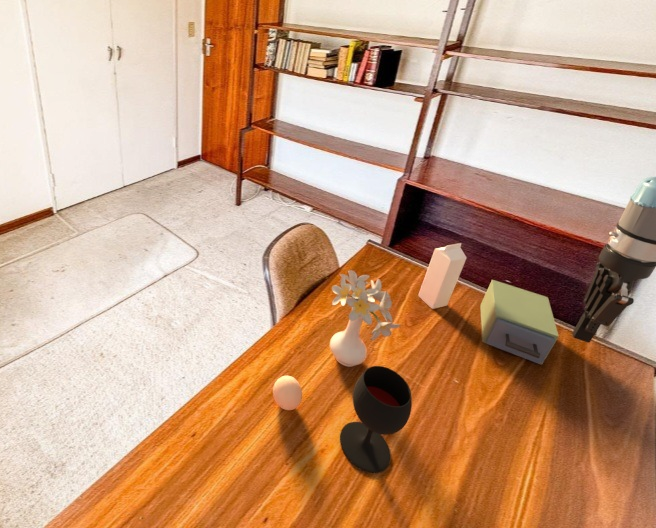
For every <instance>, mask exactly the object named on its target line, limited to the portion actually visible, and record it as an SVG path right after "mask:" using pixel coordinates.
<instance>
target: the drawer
mask: <svg viewBox="0 0 656 528" xmlns="http://www.w3.org/2000/svg"><path fill="white" fill-rule="evenodd" d="M554 343H555V344H556V342H555V338H553V337H550V336H549V335H546V334H543V333H540V332H537V331H533V330H530V329H527V328H524V327H522V326H519V325H516V324H513V323H510V322H508V321H505V320H502V319H501V318H497V319H496V321H495V323H494V325H493V327H492V329H491V331H490V333H489V335H488V337H487V340H486V343H485V344H486V345H488V346H491V347H494V348H496V349H499V350H501V351H503V352H507V353H510V354H512V355H515V356H518V357H520V358H523V359H525V360H528V361H529V362H533V363H535V364H538V365H541V364H542V363H543V364H544V362H545V361H544V359H545V358H546V359H547V357H548V356H547V354H548V353H549V354H550V352H551V351H550V349H551V348H552V349H553V347H554V346H553V344H554ZM555 344H554V345H555ZM552 346H553V347H552ZM552 349H551V350H552ZM549 351H550V352H549ZM549 354H548V355H549ZM546 356H547V357H546ZM546 359H545V360H546ZM543 361H544V362H543ZM543 364H542V365H543Z"/></svg>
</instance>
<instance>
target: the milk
mask: <svg viewBox="0 0 656 528" xmlns="http://www.w3.org/2000/svg"><path fill="white" fill-rule="evenodd" d="M461 247H462V243H461V242H460V243H454V244H448V245H446V246H442V247H437V248H434V249H433V253H432V255H431V259H430V262H429V264H428V267H427V269H426V273H425V275H424V277H423V281H422V283H421V286H420V289H419V290H418V291H419V292H418V294H417V297H419V299H420V300H422V301H423V302H424V303H425V304H426V305H427V306H428V307H429V308H430V309H431V310H435V309H439V308H443V307H448V304H449V302H450V299H451V298H452V295H453V293H454V290H455V288H456V285H457V282H458V280H459V279H460V276H461V273H462V271H463V268H464V265H465V263H466V260H467V258H468V257H467V256H466V254H465V253H464V250H463V249H462V248H461Z"/></svg>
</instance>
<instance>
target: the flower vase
mask: <svg viewBox="0 0 656 528" xmlns="http://www.w3.org/2000/svg"><path fill="white" fill-rule="evenodd" d="M347 273H348V275H347V274H344V273H339V276H340V277H341V278H340V286H339V285H336V284H334V285H332V287H331V290H332V292H333V294H335V295H336V296H335V297H334V298H333V300H332V302H331V303H332V304H331V305H332V306H336V305H338V304H339V303H340V304H341V306H342V307H344V306H345V305H346V304H347V306H349V307H350V308H351V310H350V313H349V314H348V319H349V320H348V322H347V325H346V327H345V329H344V330H342V331H338V332H336V333H334V334H333V336H332V337H331V338H330V340H329V349H330V352H331V354H332V355H333V356H334V359H335V360H336V362H338V363H339V364H340V365H342V366H344V367H348V368H350V367H351V368H352V367H355V366H359V365H361V364H363V363H364V362H365V361H366V359H367V357H368V356H367V355H368V350H367V346H366V344H365V342H364V341H363V339H362V338H361V328H362V325H363V322H364V323H365V324H367V325H369V326H370V325H372V323H373V318H372V315H373V317H374V318H375V319H376V322H377V324H376V326H375V327H374V328H373V330H371V332H370V334H372V335H371V338H370V341H374V340H376V339H377V338H378V337H379V336H380V335H382V336H383V337H385V338H387V337H390V336H392V331H391V329H392V330H393V329H398V328H400V327H402V324H398V323H393V321H394V320H393V316H392V314H391V312H390V311H389V309H391V307H392V304H393V302H392V301H393V300H392V299H391V295H390V294H389V293H388V291H387V290H385V291H384V290H382V281H381V279H380V278H377V279H376V282H375V281H373V280H372V279H371V280H370V282H369V281H366V280H369V278H371V277H370V275H369V274H362V275H360V276H358V274H357V273H356V272H355V270H353V269H349V270H348V271H347ZM346 281H347V282H348V283H347V282H346ZM369 284H370V286H371V288H367V289H366V285H369ZM350 292H352V293H351V294H350ZM376 301H377V302H379V304H378V303H375V302H376ZM377 311H379V312H380V314H381V315H382V317H383V318H384V320H385V321H381V320H380V319H379V317H378V316H377V314H376V313H375V312H377Z"/></svg>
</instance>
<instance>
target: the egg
mask: <svg viewBox="0 0 656 528" xmlns="http://www.w3.org/2000/svg"><path fill="white" fill-rule="evenodd" d="M272 396H273V399H274V402H275V403H276V405H277V406H278V407H279V408H281V409H283V410H285V411H292V410H295V409H297V408H298V406H300V404H301V402H302V399H303V390H302V387H301V385H300V383H299V381H298V380H297V379H296V378H295V377H293V376H291V375H283V376H281V377H279V378H277V380H276V381H275V382H274V385H273V388H272Z"/></svg>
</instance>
